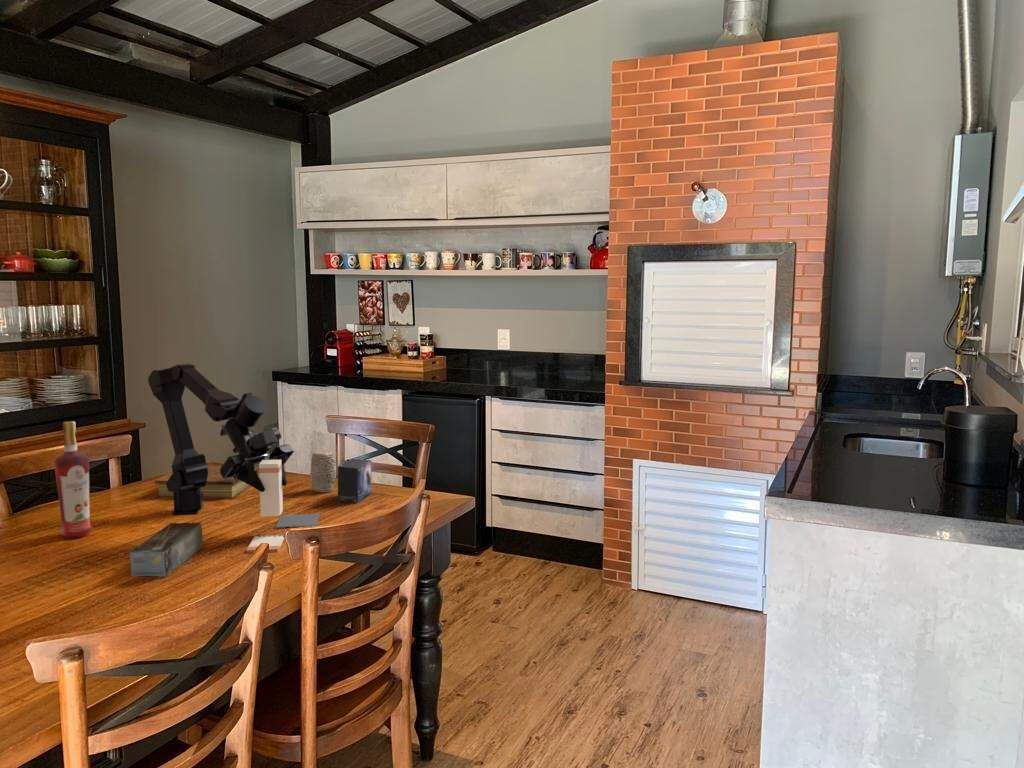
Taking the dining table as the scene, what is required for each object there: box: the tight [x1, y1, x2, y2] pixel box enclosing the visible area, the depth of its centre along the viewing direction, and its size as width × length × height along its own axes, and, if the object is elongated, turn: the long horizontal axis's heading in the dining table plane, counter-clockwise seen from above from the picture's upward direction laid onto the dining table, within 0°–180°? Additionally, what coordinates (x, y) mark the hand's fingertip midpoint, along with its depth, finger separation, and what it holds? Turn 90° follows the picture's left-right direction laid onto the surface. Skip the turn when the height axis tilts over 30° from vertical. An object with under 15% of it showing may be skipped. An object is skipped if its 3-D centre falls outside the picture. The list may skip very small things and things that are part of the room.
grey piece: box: [129, 522, 204, 578], centre depth 169 cm, size 8×19×7 cm, turn 179°
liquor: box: [53, 420, 93, 539], centre depth 184 cm, size 7×7×28 cm
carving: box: [309, 449, 337, 493], centre depth 227 cm, size 6×8×12 cm
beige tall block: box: [258, 460, 284, 517], centre depth 187 cm, size 5×5×13 cm
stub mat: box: [274, 513, 321, 529], centre depth 198 cm, size 10×10×1 cm
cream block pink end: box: [245, 534, 285, 554], centre depth 180 cm, size 10×7×1 cm
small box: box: [337, 458, 372, 504], centre depth 220 cm, size 11×6×10 cm, turn 168°
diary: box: [154, 465, 259, 500], centre depth 228 cm, size 23×19×6 cm
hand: (274, 488), depth 186 cm, fingers closed on beige tall block, 6 cm apart
